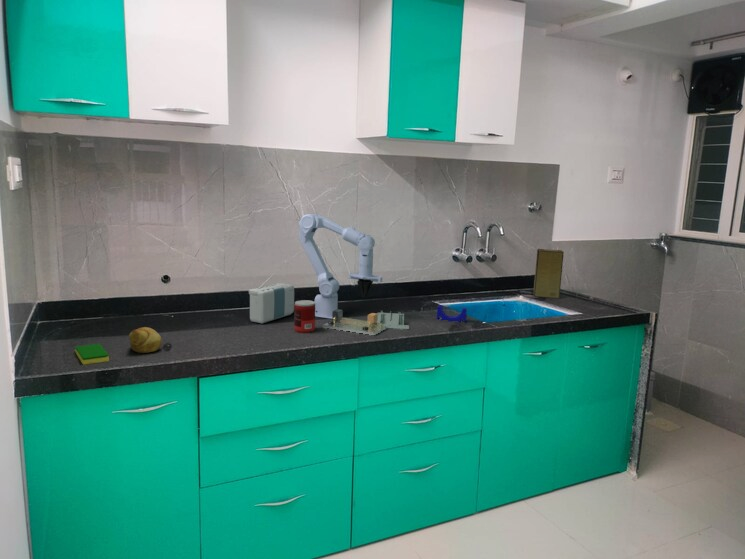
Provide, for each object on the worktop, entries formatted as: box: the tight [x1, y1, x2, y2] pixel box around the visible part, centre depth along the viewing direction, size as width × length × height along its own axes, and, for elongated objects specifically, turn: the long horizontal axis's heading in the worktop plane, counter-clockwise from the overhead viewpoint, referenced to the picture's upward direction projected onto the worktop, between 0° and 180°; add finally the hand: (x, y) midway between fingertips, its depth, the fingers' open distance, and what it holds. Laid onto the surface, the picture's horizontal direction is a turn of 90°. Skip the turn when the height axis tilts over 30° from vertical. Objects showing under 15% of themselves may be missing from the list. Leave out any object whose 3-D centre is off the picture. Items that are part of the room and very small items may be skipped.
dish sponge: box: [74, 343, 110, 366], centre depth 172 cm, size 7×14×2 cm, turn 36°
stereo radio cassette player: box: [248, 267, 295, 325], centre depth 226 cm, size 21×8×20 cm, turn 152°
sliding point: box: [367, 312, 378, 327], centre depth 216 cm, size 2×5×4 cm, turn 156°
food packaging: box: [532, 248, 564, 300], centre depth 297 cm, size 13×9×25 cm
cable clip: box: [436, 304, 468, 323], centre depth 237 cm, size 12×4×6 cm, turn 73°
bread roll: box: [128, 326, 163, 354], centre depth 181 cm, size 13×10×8 cm
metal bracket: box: [376, 310, 410, 330], centre depth 225 cm, size 14×6×15 cm
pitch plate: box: [322, 308, 387, 336], centre depth 217 cm, size 22×12×6 cm, turn 66°
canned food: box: [293, 299, 316, 334], centre depth 211 cm, size 8×8×11 cm
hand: (364, 297), depth 231 cm, fingers closed
